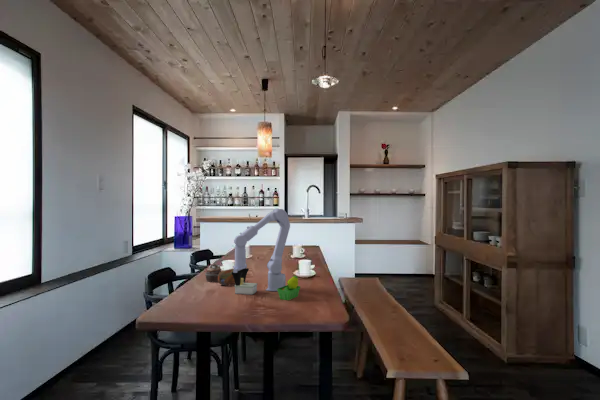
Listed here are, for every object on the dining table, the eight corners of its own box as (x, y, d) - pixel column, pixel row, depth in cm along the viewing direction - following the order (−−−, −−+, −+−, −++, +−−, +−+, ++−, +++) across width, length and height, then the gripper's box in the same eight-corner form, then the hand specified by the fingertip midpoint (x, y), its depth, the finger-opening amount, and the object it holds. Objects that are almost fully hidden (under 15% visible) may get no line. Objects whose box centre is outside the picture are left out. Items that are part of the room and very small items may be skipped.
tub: (256, 291, 190) (256, 284, 190) (252, 294, 184) (252, 287, 184) (239, 290, 192) (239, 284, 192) (235, 293, 186) (235, 287, 186)
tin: (220, 286, 201) (220, 271, 201) (216, 285, 203) (216, 271, 203) (240, 281, 213) (240, 267, 213) (236, 280, 215) (236, 267, 215)
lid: (257, 286, 190) (257, 277, 190) (253, 290, 183) (253, 280, 183) (239, 285, 192) (239, 276, 192) (234, 289, 185) (234, 279, 185)
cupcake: (212, 278, 222) (212, 262, 222) (224, 279, 217) (224, 263, 217) (201, 281, 213) (201, 264, 213) (214, 283, 209) (214, 266, 209)
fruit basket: (288, 294, 185) (288, 272, 185) (303, 296, 181) (303, 274, 180) (276, 299, 175) (276, 276, 175) (291, 302, 171) (291, 278, 171)
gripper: (238, 255, 196) (238, 280, 196) (227, 260, 182) (227, 286, 182) (250, 256, 195) (250, 280, 195) (240, 260, 181) (240, 287, 181)
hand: (240, 283), depth 188 cm, fingers open, 7 cm apart
